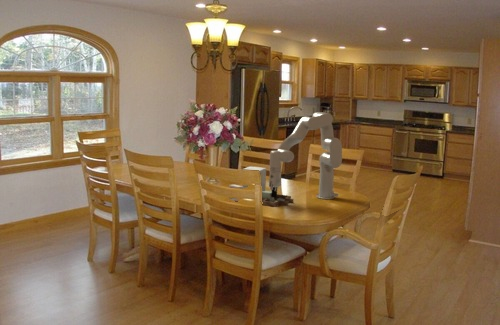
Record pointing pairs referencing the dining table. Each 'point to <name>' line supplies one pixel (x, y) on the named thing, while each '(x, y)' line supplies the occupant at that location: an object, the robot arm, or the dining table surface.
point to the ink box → (235, 187)
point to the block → (267, 195)
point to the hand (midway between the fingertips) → (274, 197)
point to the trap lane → (278, 200)
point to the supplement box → (263, 176)
